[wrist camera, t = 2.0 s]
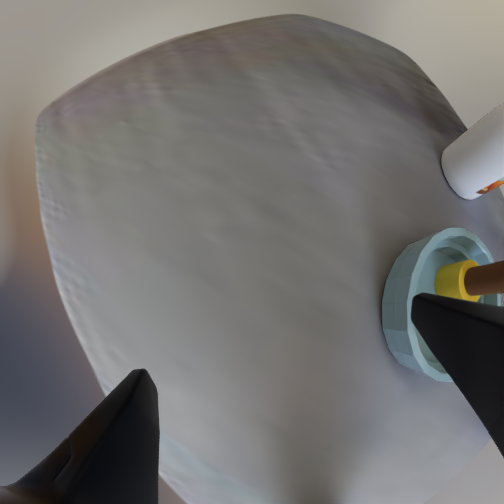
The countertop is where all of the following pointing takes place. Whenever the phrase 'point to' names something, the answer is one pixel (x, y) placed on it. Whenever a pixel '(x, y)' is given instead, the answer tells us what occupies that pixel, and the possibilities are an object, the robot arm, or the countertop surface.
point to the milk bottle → (477, 157)
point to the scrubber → (470, 280)
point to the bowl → (423, 280)
